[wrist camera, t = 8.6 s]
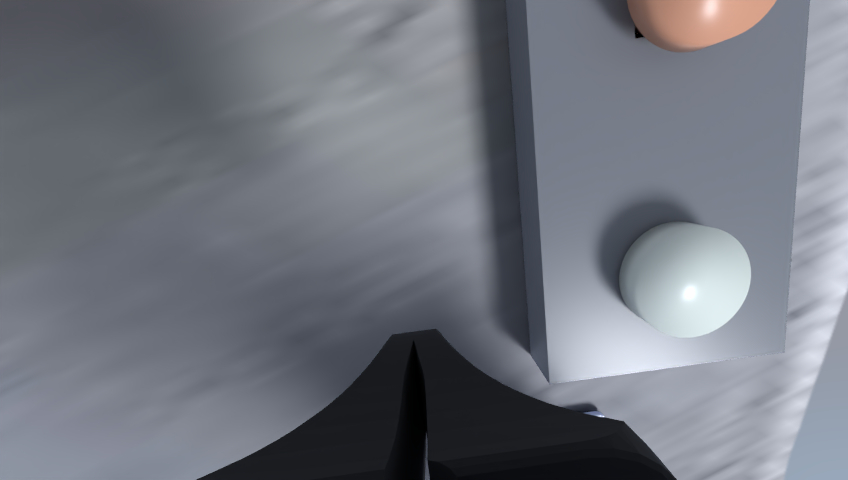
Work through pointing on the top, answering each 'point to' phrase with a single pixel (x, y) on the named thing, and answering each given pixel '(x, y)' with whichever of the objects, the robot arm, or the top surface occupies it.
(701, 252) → the sage plunger
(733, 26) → the orange-brown rounded piece
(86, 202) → the top surface
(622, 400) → the top surface
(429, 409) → the robot arm
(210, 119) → the top surface
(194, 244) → the top surface
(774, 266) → the block
